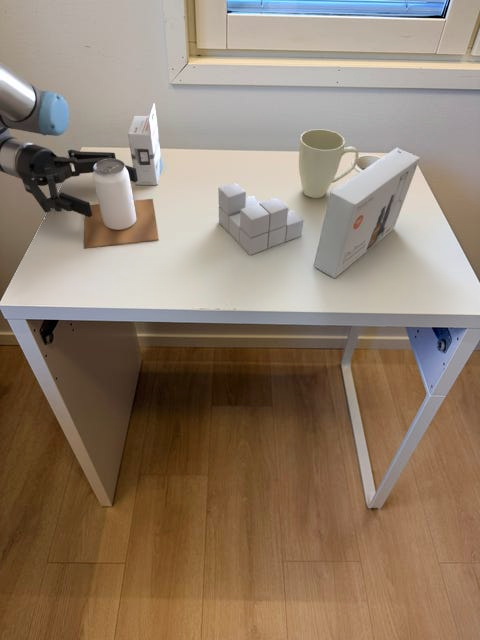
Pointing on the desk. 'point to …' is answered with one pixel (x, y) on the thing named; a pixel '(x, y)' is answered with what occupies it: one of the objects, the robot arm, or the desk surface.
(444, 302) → the desk surface
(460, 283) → the desk surface
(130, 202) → the can
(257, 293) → the desk surface
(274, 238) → the stacked white cubes
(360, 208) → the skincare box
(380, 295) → the desk surface
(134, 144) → the ink box
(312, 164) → the mug
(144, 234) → the wooden coaster
